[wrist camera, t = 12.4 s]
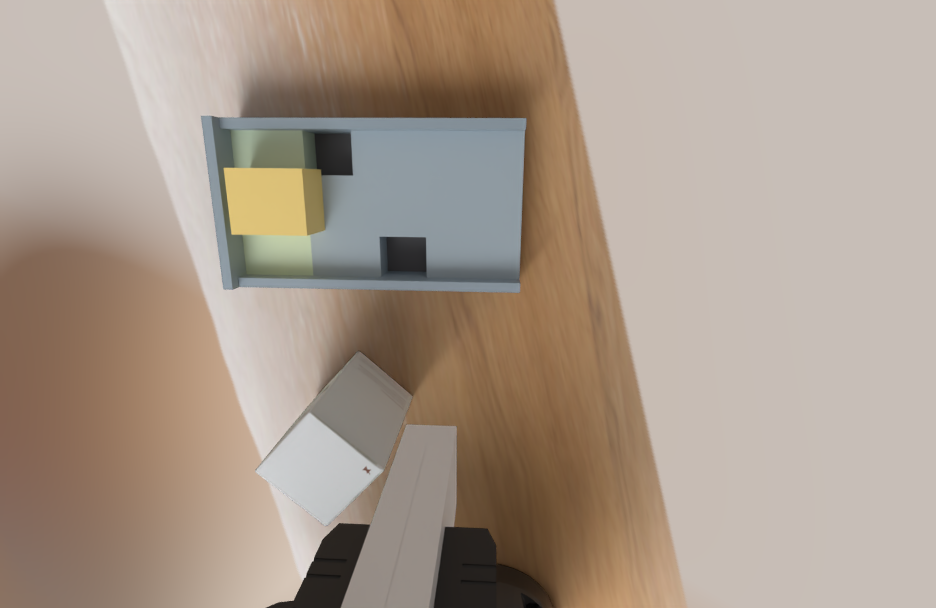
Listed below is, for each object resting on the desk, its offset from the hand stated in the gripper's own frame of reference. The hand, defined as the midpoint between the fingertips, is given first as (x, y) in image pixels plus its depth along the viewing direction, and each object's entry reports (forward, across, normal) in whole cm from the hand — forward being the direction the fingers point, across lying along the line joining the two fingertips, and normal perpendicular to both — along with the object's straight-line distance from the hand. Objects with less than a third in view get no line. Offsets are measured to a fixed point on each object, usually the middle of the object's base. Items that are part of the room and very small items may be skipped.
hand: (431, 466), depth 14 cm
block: (+27, +16, -6) cm, 32 cm away
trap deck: (+30, +8, -6) cm, 32 cm away
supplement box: (+31, +11, +13) cm, 35 cm away
